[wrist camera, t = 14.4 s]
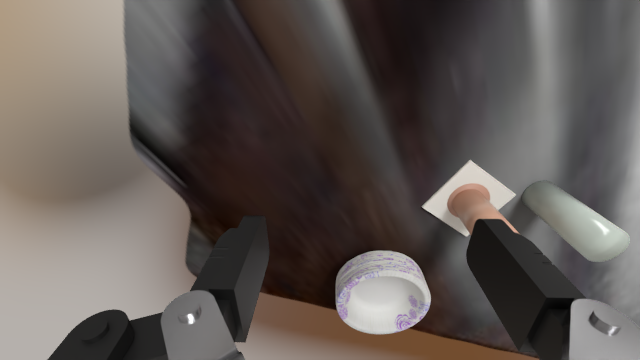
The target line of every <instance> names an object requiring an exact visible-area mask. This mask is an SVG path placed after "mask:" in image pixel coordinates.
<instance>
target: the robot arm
mask: <svg viewBox="0 0 640 360" xmlns="http://www.w3.org/2000/svg"><path fill="white" fill-rule="evenodd" d="M466 257H467V263H468V266H469V268H470V270H471V271H472V273H473V275H474V276H475V278H476V280H477V281H478V283H479V285H480V287H481V288H482V290H483V292H484V293H485V295H486V297H487V298H488V300H489V302H490V303H491V305H492V307H493V309H494V310H495V312H496V314H497V315H498V317H499V319H500V320H501V322H502V324H503V325H504V327H505V329H506V331H507V332H508V334H509V336H510V337H511V339H512V341H513V342H514V344H515V346H516V348H517V349H518V351H519V352H536V353H537V354H538V356H539V358H540V360H640V328H639V327H638V326H637V325H636V324H635V323H634V322H633V321H632V320H631V319H630V318H629V317H627V316H626V315H625V314H623V313H622V312H620V311H618V310H617V309H615V308H613V307H611V306H609V305H607V304H604V303H602V302H599V301H595V300H591V299H587V298H586V297H585V296H584V295H583V294H582V293H581V292H580V291H579V290H578V289H577V288H576V287H575V286H574V285H573V284H572V283H571V282H570V281H569V280H568V279H567V278H566V277H565V276H564V275H563V274H562V273H561V272H560V271H559V269H558V268H557V267H556V266H555V265H552V262H551V261H550V260H549V259H548V258H547V257H546V256H545V255H543V253H542V252H541V251H540V250H539V249H538V248H537V247H536V246H535V245H534V244H533V243H532V242H531V241H529V240H528V239H526V238H525V237H523V236H522V235H520V234H518V233H514V232H513V230H512V229H511V228H510V227H509V226H508V225H507V224H506V223H505V222H504V221H503V220H502V219H478V220H476V222H475V224H474V228H473V231H472V235H471V238H470V241H469V245H468V248H467V253H466ZM268 259H269V243H268V235H267V227H266V220H265V217H264V216H244V217H243V219H242V221H241V223H240V225H239V227H238V229H233V228H230V229H229V230H228V231H227V232H225V233H224V234H223V235H222V236H221V237H220V238H219V240H218V241H217V243H216V245H215V247H214V249H213V250H212V252H211V254H210V257H209V258H208V259H207V261H206V263H205V265H204V267H203V268H202V270H201V272H200V274H199V276H198V277H197V279H196V281H195V283H194V285H193V286H192V288H191V290H190V292H187V293H185V294H182V295H180V296H179V297H177V298H175V299H174V300H173V301H172V302H171V303H170V304H169V305H168V306H167V307H166V308H165V310H164V312H162V313H158V314H155V315H151V316H147V317H143V318H139V319H135V320H131V321H129V319H128V317H127V315H126V314H125V313H124V312H123V311H120V310H107V311H103V312H100V313H97V314H95V315H93V316H91V317H89V318H87V319H86V320H84V321H82V322H81V323H80V324H79V325H77V326H76V327H75V328H74V329H73V330H72V331H71V332H70V333H69V334H68V335H67V337H66V338H65V339H64V340H63V341H62V343H61V344H60V345H59V346H58V348H57V349H56V350H55V351H54V353H53V354H52V355H51V356H50V357H49V359H48V360H245V359H244V356H243V354H242V353H241V352H239V351H238V350H237V348H236V345H235V342H246V338H247V335H248V331H249V328H250V324H251V321H252V317H253V314H254V310H255V306H256V303H257V300H258V296H259V292H260V289H261V285H262V282H263V278H264V275H265V271H266V268H267V264H268Z"/></svg>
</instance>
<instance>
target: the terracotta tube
mask: <svg viewBox="0 0 640 360" xmlns="http://www.w3.org/2000/svg"><path fill="white" fill-rule="evenodd" d="M452 208H453V210H454V211H455V213H456V214H457V216H458V217H459V219H460V220H461V222H462V223H463V224H464V226H465V227H466V229H467V230H468V232H469V233H470V235H472V231H473V228H474V224H475V222H476V220H478V219H502V220H503V221H504V222H505V223H506V224H507V225H508V226H509V227H510V228H511V229H512V230H513V232H514V233H518V232H517V231H516V229H515V228H514V227H513V226H512V225H511V224H510V223H509V222H508V221H507V220H506V219H505V218H504V217H503V215H502V214H501V213H500V212H499V211H498V210H497V209H496V208H495V207H494V206H493V205H492V204H491V203H490V201H489V200H488V199H487V198H486V197H485V196H484V195H483V194H482V193H481V192H480V191H478V190H476V189H467V190H464V191H461V192H460V193H458V194H457V195H456V196H455V197H454V199H453V201H452ZM518 234H519V233H518Z"/></svg>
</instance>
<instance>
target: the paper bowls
mask: <svg viewBox="0 0 640 360" xmlns="http://www.w3.org/2000/svg"><path fill="white" fill-rule="evenodd" d="M430 302H431V295H430V292H429V289H428V286H427V284H426V281H425V279H424V276H423V273H422V271H421V269H420V268H419V266H418V265H417V264H416V263H415V262H414V261H413V260H412V259H411V258H409V257H408V256H406V255H404V254H401V253H398V252H393V251H370V252H367V253H364V254H361V255H358V256H357V257H355V258H353V259H351V260H350V261H348V262H347V263H346V264H345V265H344V266H343V267H342V268H341V269H340V271H339V272H338V275H337V278H336V308H337V311H338V314H339V316H340V317H341V319H342V320H343V321H344V322H345V323H346V324H348V325H349V326H350V327H352V328H354V329H356V330H358V331H361V332H365V333H370V334H390V333H395V332H399V331H402V330H405V329H407V328H409V327H411V326H413V325H415V324H416V323H417V322H419V321H420V320H421V319H422V318H423V317H424V316H425V315H426V313H427V311H428V309H429V307H430Z"/></svg>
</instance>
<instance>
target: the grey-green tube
mask: <svg viewBox="0 0 640 360" xmlns="http://www.w3.org/2000/svg"><path fill="white" fill-rule="evenodd" d="M522 200H523V203H524V204H525V205H526V206H527V207H528V208H529V209H531V210H532V211H533V212H534V213H535V214H536V215H537V216H539V217H540V218H541V219H542V220H543V221H544V222H545V223H546V224H548V225H549V226H550V227H551V228H552V229H553V230H554V231H556V232H557V233H558V234H559V235H560V236H561V237H562V238H564V239H565V240H566V241H567V242H568V243H569V244H570V245H572V246H573V247H574V248H575V249H576V250H577V251H578V252H579V253H581V254H582V255H583V256H584V257H585V258H586V259H588V260H590V261H594V262H602V261H607V260H610V259H613V258H615V257H616V256H618V255H620V254H621V253H622V252H623V251H624V250H625V249H626V248H627V247H628V245H629V242H630V237H629V235H628V234H627V233H626V232H624V231H623V230H621V229H620V228H618V227H617V226H615V225H614V224H613V223H611V222H610V221H608V220H607V219H605V218H604V217H602V216H601V215H599V214H598V213H596V212H595V211H593V210H592V209H590V208H589V207H587V206H586V205H584V204H583V203H581V202H580V201H578V200H577V199H575V198H574V197H572V196H571V195H569V194H568V193H566V192H565V191H563V190H562V189H560V188H559V187H557V186H556V185H554V184H553V183H551V182H549V181H539V182H536V183H534V184H532V185H530V186H529V187H528V188H527V189H526V190H525V191H524V193H523V196H522Z"/></svg>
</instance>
